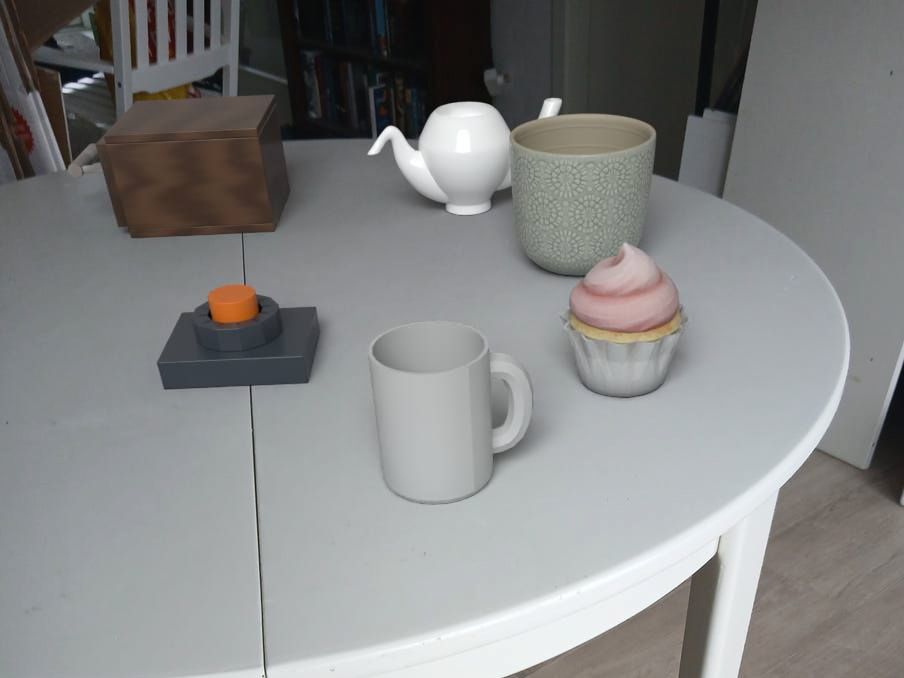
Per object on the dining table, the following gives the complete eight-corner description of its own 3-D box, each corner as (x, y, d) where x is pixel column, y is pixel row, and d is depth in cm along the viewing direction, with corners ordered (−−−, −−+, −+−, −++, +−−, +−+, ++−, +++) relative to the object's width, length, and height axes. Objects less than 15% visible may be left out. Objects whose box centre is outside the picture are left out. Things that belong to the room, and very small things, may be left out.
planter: (534, 232, 96) (534, 110, 89) (660, 243, 93) (670, 116, 86) (492, 281, 88) (488, 150, 81) (628, 295, 84) (637, 159, 77)
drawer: (77, 229, 100) (51, 146, 94) (106, 192, 108) (85, 114, 103) (251, 221, 99) (235, 137, 94) (267, 184, 108) (253, 106, 103)
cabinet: (130, 238, 100) (103, 135, 93) (159, 197, 109) (135, 100, 103) (274, 231, 100) (256, 127, 93) (290, 190, 109) (274, 94, 103)
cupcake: (565, 347, 77) (567, 216, 71) (686, 353, 76) (700, 219, 69) (549, 405, 71) (550, 266, 64) (681, 413, 69) (697, 271, 62)
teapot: (366, 205, 104) (355, 108, 98) (546, 182, 108) (546, 87, 101) (383, 236, 97) (372, 133, 91) (575, 210, 101) (577, 110, 94)
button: (208, 327, 74) (203, 304, 73) (217, 307, 77) (212, 285, 76) (255, 324, 74) (251, 302, 73) (262, 305, 77) (258, 283, 76)
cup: (376, 455, 66) (360, 328, 61) (520, 434, 68) (519, 309, 62) (391, 514, 61) (375, 382, 55) (547, 491, 62) (548, 359, 56)
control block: (163, 389, 75) (149, 339, 72) (187, 337, 82) (176, 290, 79) (307, 383, 75) (299, 332, 72) (320, 331, 81) (312, 284, 79)
